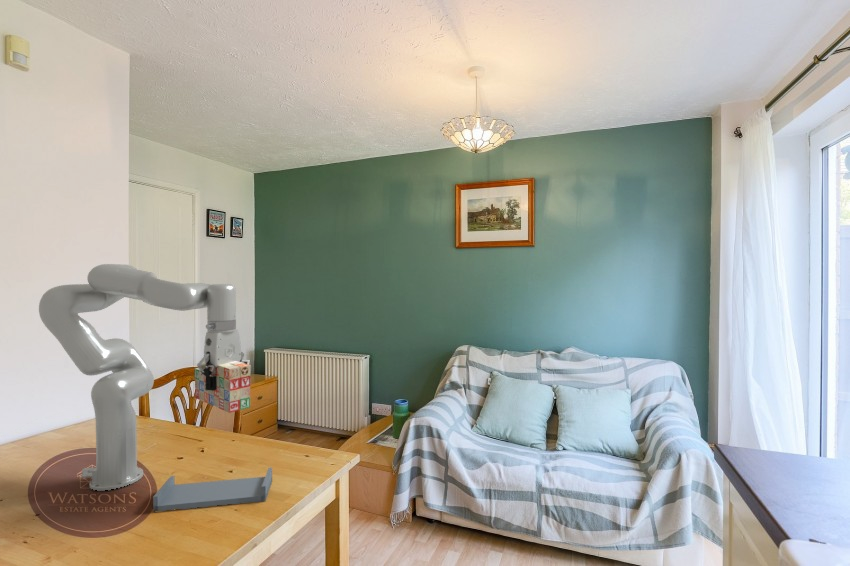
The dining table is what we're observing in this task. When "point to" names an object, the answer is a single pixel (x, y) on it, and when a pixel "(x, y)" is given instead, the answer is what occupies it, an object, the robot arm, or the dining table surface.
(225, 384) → the stack of blocks
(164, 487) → the board
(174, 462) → the dining table surface
